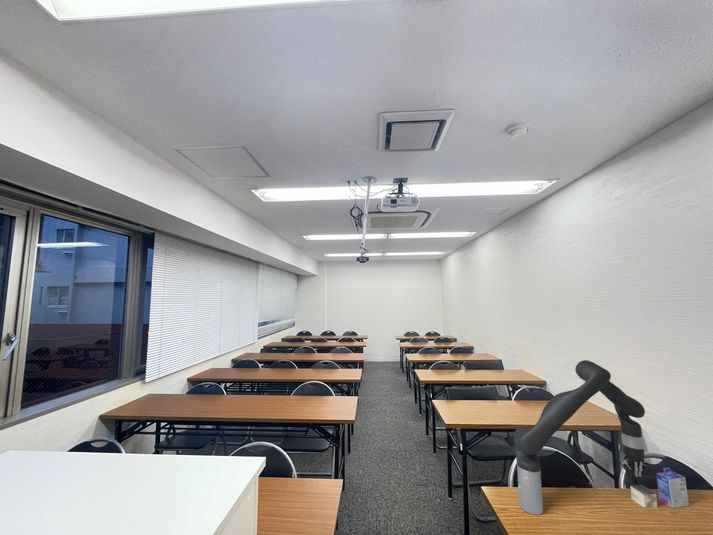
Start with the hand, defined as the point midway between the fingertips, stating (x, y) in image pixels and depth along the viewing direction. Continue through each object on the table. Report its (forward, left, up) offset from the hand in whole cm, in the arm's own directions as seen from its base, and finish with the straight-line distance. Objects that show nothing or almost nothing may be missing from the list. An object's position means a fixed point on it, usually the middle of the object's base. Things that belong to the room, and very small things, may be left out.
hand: (636, 484), depth 135 cm
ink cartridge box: (+14, +7, -8) cm, 18 cm away
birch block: (+2, +1, -2) cm, 4 cm away
